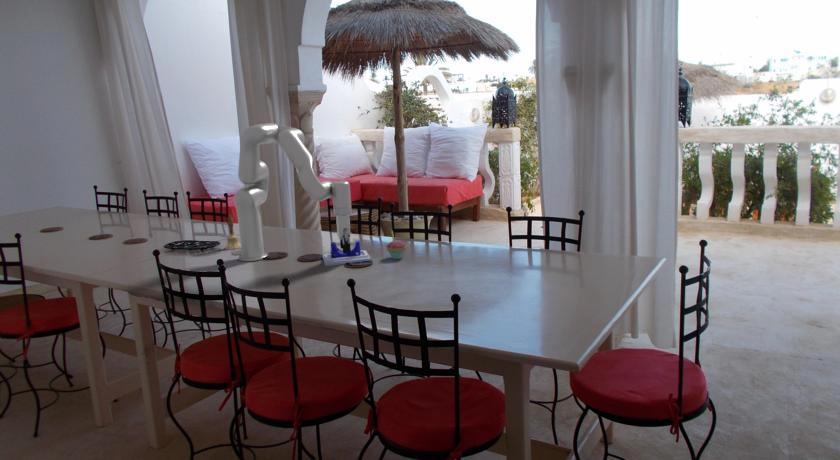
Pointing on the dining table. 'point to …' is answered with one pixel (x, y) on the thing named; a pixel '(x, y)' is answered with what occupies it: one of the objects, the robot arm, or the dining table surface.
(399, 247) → the cupcake
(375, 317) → the dining table surface
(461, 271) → the dining table surface
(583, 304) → the dining table surface
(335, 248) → the cable clip
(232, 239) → the hand bell
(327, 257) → the door panel
